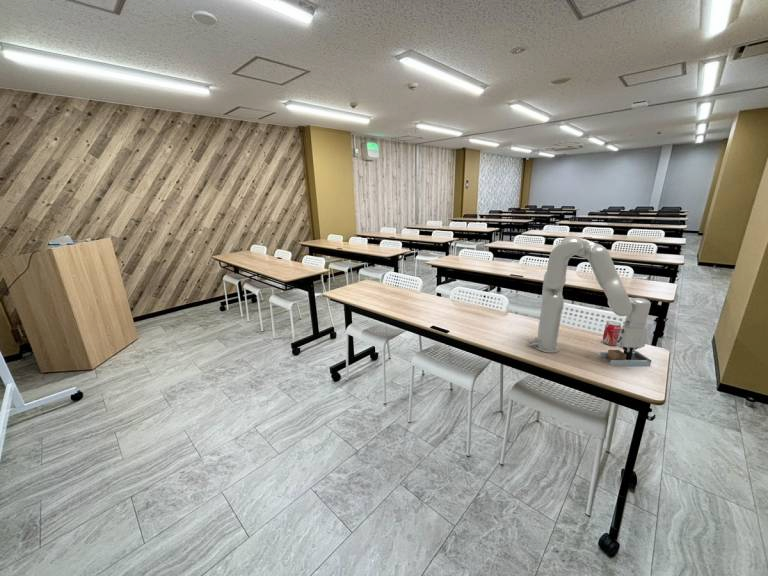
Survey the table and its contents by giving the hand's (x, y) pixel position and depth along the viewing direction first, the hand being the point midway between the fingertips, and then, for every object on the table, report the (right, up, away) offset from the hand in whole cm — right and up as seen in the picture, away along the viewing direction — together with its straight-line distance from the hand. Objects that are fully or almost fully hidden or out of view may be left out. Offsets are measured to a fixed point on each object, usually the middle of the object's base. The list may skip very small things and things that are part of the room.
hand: (626, 358), depth 146 cm
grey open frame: (-1, -1, 0) cm, 2 cm away
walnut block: (-5, -2, +1) cm, 5 cm away
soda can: (+6, +4, +18) cm, 20 cm away
